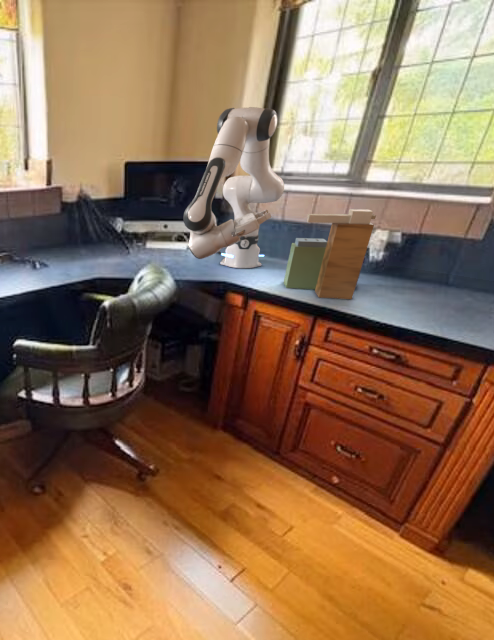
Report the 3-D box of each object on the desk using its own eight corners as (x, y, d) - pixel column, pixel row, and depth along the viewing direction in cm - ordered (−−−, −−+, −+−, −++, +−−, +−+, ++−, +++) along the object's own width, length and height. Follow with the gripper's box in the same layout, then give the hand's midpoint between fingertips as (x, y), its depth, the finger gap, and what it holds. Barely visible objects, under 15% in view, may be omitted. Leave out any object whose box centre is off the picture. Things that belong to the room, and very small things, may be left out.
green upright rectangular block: (283, 282, 175) (293, 237, 166) (315, 284, 172) (326, 238, 163) (286, 287, 169) (296, 241, 160) (318, 289, 165) (331, 242, 157)
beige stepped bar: (306, 220, 152) (308, 209, 150) (370, 221, 147) (374, 209, 145) (308, 223, 148) (311, 210, 146) (374, 224, 142) (378, 211, 141)
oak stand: (314, 291, 163) (332, 220, 151) (346, 293, 161) (367, 221, 148) (318, 297, 157) (337, 224, 144) (351, 299, 154) (374, 224, 141)
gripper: (228, 228, 149) (268, 208, 142) (227, 220, 166) (263, 202, 159) (235, 244, 150) (275, 225, 144) (234, 235, 168) (269, 217, 161)
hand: (269, 213), depth 152 cm, fingers open, 8 cm apart
